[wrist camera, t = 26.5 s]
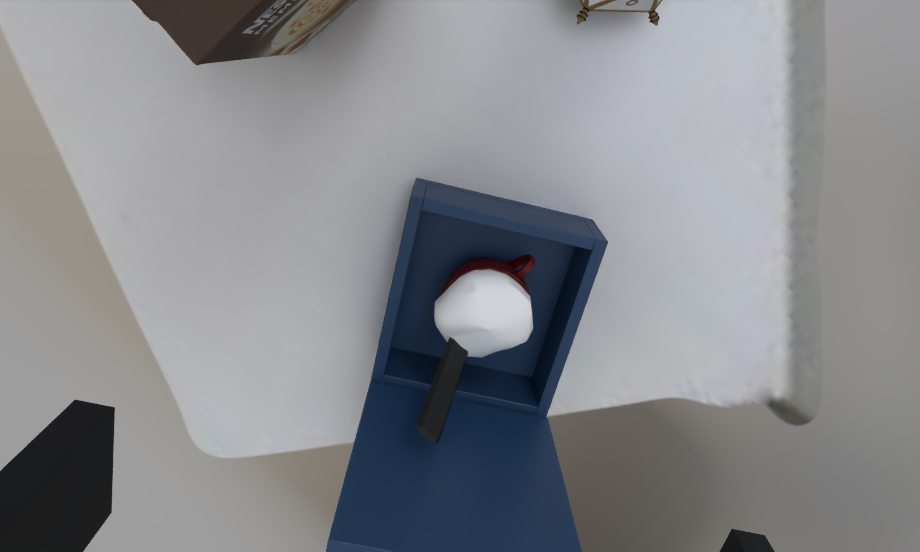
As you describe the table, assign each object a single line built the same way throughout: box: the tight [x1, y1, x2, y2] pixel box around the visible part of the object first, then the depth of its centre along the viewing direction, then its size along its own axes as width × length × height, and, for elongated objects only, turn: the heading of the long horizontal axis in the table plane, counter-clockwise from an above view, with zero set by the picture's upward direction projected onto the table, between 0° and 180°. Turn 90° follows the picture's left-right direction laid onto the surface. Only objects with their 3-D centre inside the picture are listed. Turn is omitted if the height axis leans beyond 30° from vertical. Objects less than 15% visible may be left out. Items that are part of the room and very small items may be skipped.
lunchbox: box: [371, 178, 608, 418], centre depth 42 cm, size 14×13×5 cm
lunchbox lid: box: [326, 382, 582, 552], centre depth 36 cm, size 14×13×7 cm
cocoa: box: [416, 254, 535, 444], centre depth 38 cm, size 10×6×12 cm, turn 115°
